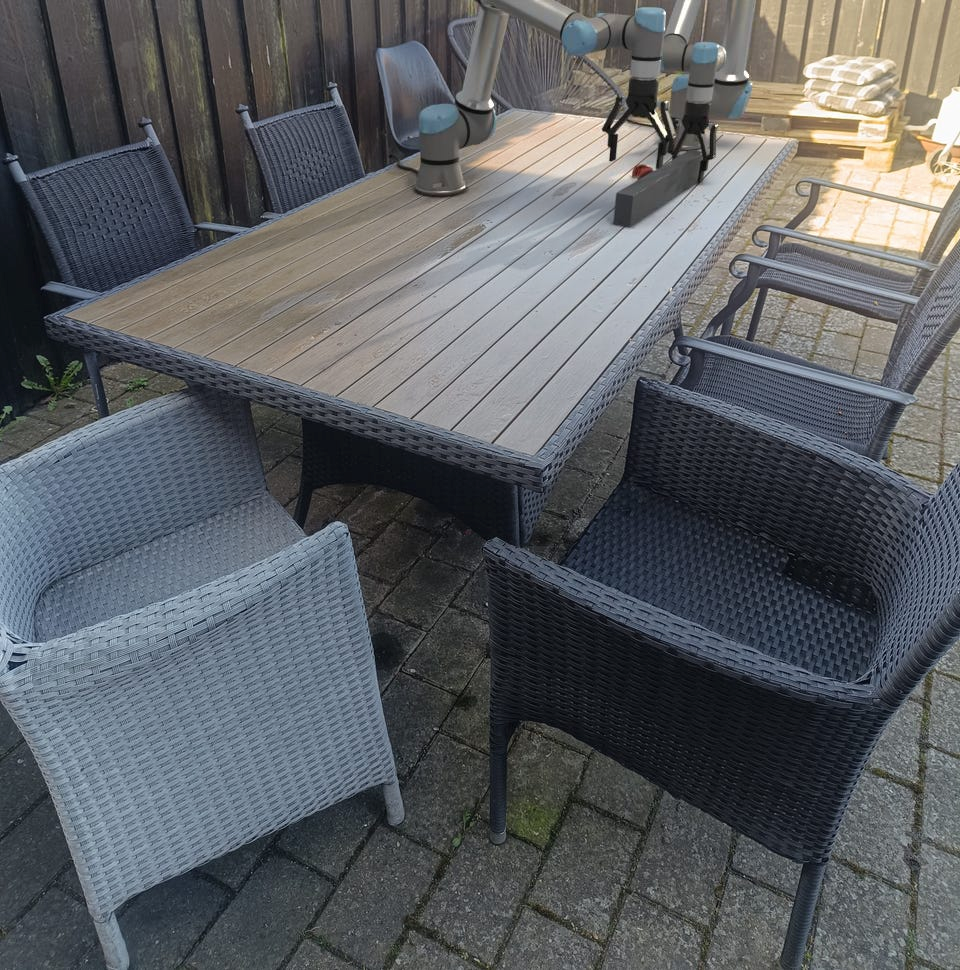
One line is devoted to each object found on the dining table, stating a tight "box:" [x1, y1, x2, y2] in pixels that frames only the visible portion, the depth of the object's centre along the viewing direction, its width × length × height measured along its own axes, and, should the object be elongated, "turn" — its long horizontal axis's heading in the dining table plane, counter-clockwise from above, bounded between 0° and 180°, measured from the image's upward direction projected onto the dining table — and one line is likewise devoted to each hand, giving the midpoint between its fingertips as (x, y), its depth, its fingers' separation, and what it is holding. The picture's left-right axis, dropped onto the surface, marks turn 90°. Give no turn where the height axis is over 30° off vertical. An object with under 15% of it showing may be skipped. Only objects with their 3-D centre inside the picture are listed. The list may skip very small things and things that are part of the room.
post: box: [613, 149, 703, 228], centre depth 247 cm, size 54×5×8 cm, turn 147°
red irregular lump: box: [631, 163, 654, 180], centre depth 267 cm, size 6×4×8 cm
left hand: (635, 164), depth 226 cm, fingers open, 13 cm apart
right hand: (687, 179), depth 264 cm, fingers open, 8 cm apart
